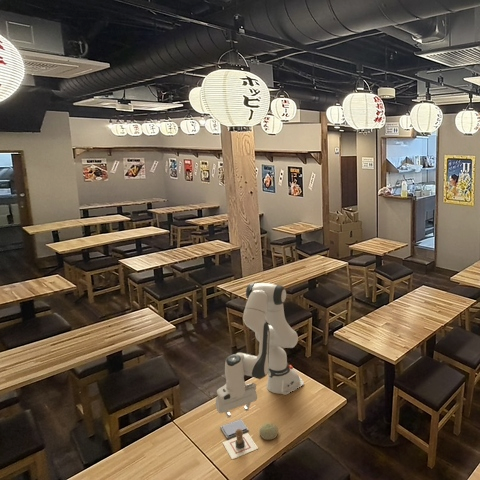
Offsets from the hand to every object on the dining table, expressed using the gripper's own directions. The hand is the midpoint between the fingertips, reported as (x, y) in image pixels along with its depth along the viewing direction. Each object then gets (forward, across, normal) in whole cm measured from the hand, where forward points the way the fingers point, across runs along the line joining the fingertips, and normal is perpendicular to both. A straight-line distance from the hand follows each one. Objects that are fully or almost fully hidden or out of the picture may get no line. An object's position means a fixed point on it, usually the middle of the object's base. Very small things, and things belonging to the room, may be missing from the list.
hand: (237, 413), depth 192 cm
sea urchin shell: (+19, -16, 0) cm, 25 cm away
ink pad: (+19, -2, -11) cm, 22 cm away
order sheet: (+18, 0, 0) cm, 19 cm away
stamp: (+18, 0, 0) cm, 18 cm away
